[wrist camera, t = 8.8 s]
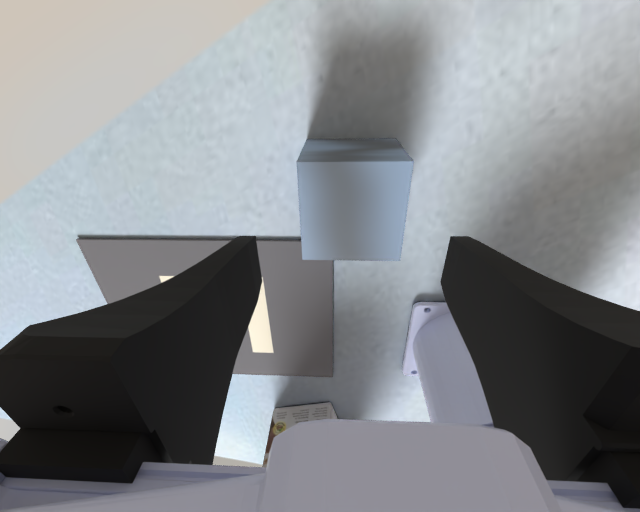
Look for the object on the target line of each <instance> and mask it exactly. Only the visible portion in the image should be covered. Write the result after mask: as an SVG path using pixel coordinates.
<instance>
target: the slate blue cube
mask: <svg viewBox="0 0 640 512" xmlns="http://www.w3.org/2000/svg"><path fill="white" fill-rule="evenodd" d="M413 163H414V161H413V160H412V158H411V157H410V156H409V155H408V153H407V152H406V151H405V150H404V148H403V147H402V146H401V144H400V143H399V142H398V141H397V139H396V138H384V139H307V140H306V142H305V144H304V147H303V149H302V151H301V153H300V156H299V158H298V160H297V177H298V194H299V211H300V228H301V245H302V260H369V261H400V258H401V251H402V244H403V236H404V229H405V222H406V215H407V207H408V200H409V193H410V185H411V178H412V171H413Z"/></svg>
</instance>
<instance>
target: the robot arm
mask: <svg viewBox="0 0 640 512" xmlns="http://www.w3.org/2000/svg"><path fill="white" fill-rule="evenodd" d="M261 284H262V275H261V269H260V262H259V256H258V249H257V243H256V236H239V237H237V238H235V239H234V240H232V241H230V242H229V243H227V244H226V245H224V246H223V247H221V248H220V249H218V250H217V251H215V252H214V253H212V254H211V255H209V256H208V257H206V258H205V259H203V260H202V261H200V262H198V263H197V264H195V265H193V266H192V267H190V268H188V269H187V270H185V271H183V272H181V273H180V274H178V275H176V276H174V277H172V278H170V279H168V280H166V281H164V282H162V283H160V284H158V285H156V286H153V287H151V288H149V289H146V290H144V291H141V292H139V293H136V294H134V295H131V296H129V297H127V298H124V299H121V300H119V301H116V302H113V303H110V304H107V305H104V306H101V307H97V308H94V309H91V310H88V311H84V312H81V313H77V314H74V315H70V316H66V317H62V318H58V319H54V320H50V321H46V322H42V323H38V324H34V325H30V326H28V327H27V328H25V329H24V330H23V331H22V332H21V333H20V334H19V335H17V336H16V337H15V338H14V339H13V340H11V341H10V342H9V343H8V344H7V345H5V346H4V347H3V348H2V349H1V350H0V407H1V408H2V409H3V410H4V411H5V412H6V413H7V414H8V415H9V417H10V418H11V419H12V420H13V421H14V422H15V423H16V424H17V425H18V426H19V427H20V428H21V429H20V430H19V431H18V432H17V433H16V434H15V436H14V437H13V438H12V439H11V440H10V441H9V442H8V441H6V440H4V439H1V438H0V512H640V311H637V310H633V309H630V308H627V307H623V306H621V305H618V304H615V303H612V302H609V301H606V300H603V299H600V298H597V297H594V296H591V295H589V294H586V293H583V292H581V291H578V290H576V289H573V288H571V287H568V286H566V285H564V284H561V283H559V282H556V281H554V280H552V279H550V278H548V277H545V276H543V275H541V274H539V273H537V272H535V271H533V270H531V269H529V268H527V267H525V266H523V265H521V264H519V263H518V262H516V261H514V260H512V259H510V258H508V257H506V256H505V255H503V254H501V253H499V252H497V251H496V250H494V249H492V248H490V247H489V246H487V245H485V244H483V243H481V242H479V241H477V240H475V239H473V238H471V237H468V236H451V237H450V242H449V246H448V251H447V255H446V260H445V265H444V269H443V274H442V278H441V285H442V289H443V293H444V296H445V300H446V302H417V303H415V304H414V305H413V308H412V314H411V319H410V325H409V330H408V336H407V342H406V347H405V353H404V358H403V364H402V373H403V374H404V375H407V376H419V378H420V382H421V386H422V389H423V393H424V397H425V401H426V405H427V409H428V413H429V417H430V420H431V422H404V421H376V420H348V419H322V420H314V421H306V422H299V423H297V424H296V425H294V426H292V427H290V428H289V429H287V430H285V431H283V432H282V433H280V434H278V435H277V436H275V437H274V439H273V442H272V445H271V449H270V452H269V456H268V462H267V467H266V468H265V467H243V466H242V467H241V466H220V465H212V464H213V459H214V453H215V448H216V443H217V438H218V433H219V429H220V424H221V419H222V415H223V410H224V406H225V402H226V398H227V393H228V389H229V385H230V381H231V377H232V373H233V369H234V366H235V362H236V359H237V355H238V352H239V349H240V347H241V344H242V342H243V339H244V336H245V334H246V331H247V329H248V326H249V323H250V321H251V318H252V316H253V313H254V310H255V308H256V305H257V302H258V298H259V294H260V289H261ZM425 308H429V309H426V310H425Z"/></svg>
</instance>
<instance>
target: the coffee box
mask: <svg viewBox="0 0 640 512" xmlns="http://www.w3.org/2000/svg"><path fill="white" fill-rule="evenodd" d="M322 419H338V418H337V416H336V413H335V411H334V409H333V407H332V404H331V403H330V402H327V403H319V404H309V405H301V406H292V407H282V408H275V409H274V411H273V415H272V421H271V426H270V431H269V436H268V441H267V446H266V452H265V456H264V462H263V466H262V467H265V468H266V467H267V462H268V456H269V452H270V449H271V445H272V442H273V439H274V437H275V436H277V435H278V434H280V433H282V432H283V431H285V430H287V429H289V428H290V427H292V426H294V425H296V424H297V423H299V422H306V421H314V420H322Z"/></svg>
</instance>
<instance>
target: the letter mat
mask: <svg viewBox="0 0 640 512" xmlns="http://www.w3.org/2000/svg"><path fill="white" fill-rule="evenodd" d="M76 241H77V243H78V245H79V247H80V249H81V251H82V253H83V255H84V257H85V259H86V261H87V263H88V265H89V267H90V269H91V271H92V273H93V275H94V277H95V279H96V281H97V283H98V285H99V287H100V289H101V291H102V293H103V295H104V298H105V300H106V302H107V304H110V303H113V302H116V301H119V300H121V299H124V298H127V297H129V296H131V295H134V294H136V293H139V292H141V291H144V290H146V289H149V288H151V287H153V286H156V285H158V284H160V283H162V282H164V281H166V280H168V279H170V278H172V277H174V276H176V275H178V274H180V273H181V272H183V271H185V270H187V269H188V268H190V267H192V266H193V265H195V264H197V263H198V262H200V261H202V260H203V259H205V258H206V257H208V256H209V255H211V254H212V253H214V252H215V251H217V250H218V249H220V248H221V247H223V246H224V245H226V244H227V243H229V242H230V241H232V240H222V239H94V238H78V239H76ZM256 243H257V249H258V256H259V262H260V269H261V275H262V284H261V289H260V294H259V298H258V302H257V305H256V308H255V310H254V313H253V316H252V318H251V321H250V323H249V326H248V329H247V331H246V334H245V336H244V339H243V342H242V344H241V347H240V349H239V352H238V355H237V359H236V362H235V366H234V369H233V373H232V374H251V375H283V376H314V377H333V260H302V245H301V240H256Z"/></svg>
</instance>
